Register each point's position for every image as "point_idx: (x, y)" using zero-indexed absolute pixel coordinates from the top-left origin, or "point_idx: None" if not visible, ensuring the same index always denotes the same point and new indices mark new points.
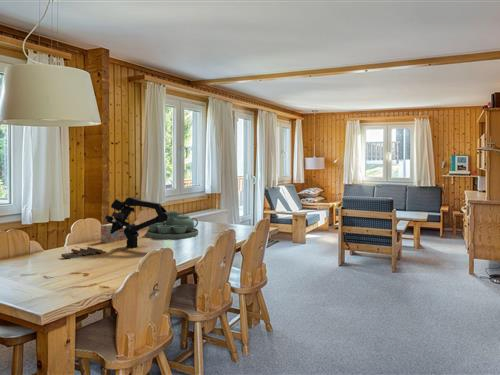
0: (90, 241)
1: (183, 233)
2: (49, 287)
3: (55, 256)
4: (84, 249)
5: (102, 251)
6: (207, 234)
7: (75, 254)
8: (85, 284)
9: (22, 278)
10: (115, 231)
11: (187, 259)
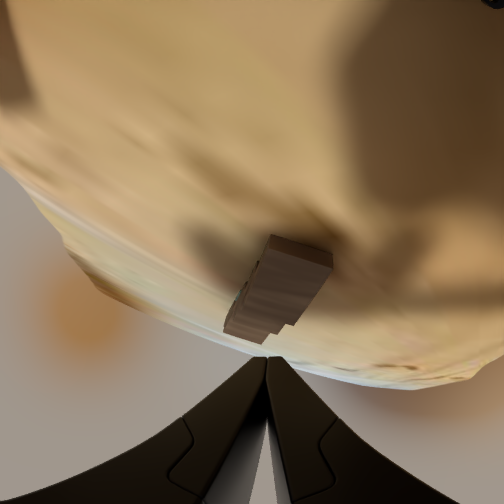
0: None
1: None
2: (381, 379)
3: (188, 300)
4: (277, 333)
5: (331, 265)
6: None
7: None
8: (427, 377)
9: (310, 368)
10: (323, 408)
11: None
